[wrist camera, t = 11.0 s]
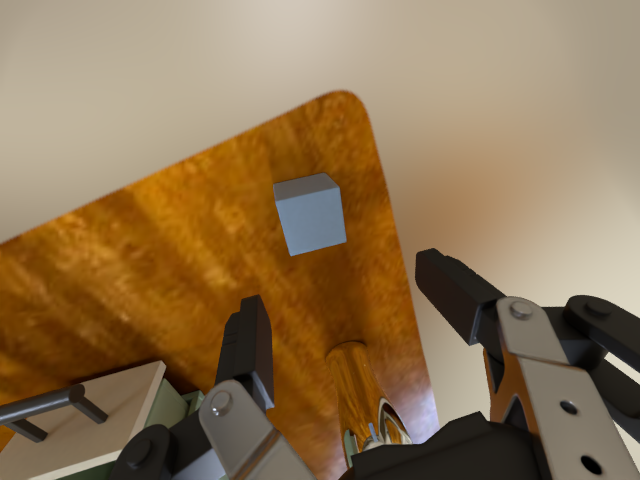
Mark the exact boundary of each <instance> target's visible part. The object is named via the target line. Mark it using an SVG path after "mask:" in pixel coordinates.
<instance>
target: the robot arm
mask: <svg viewBox="0 0 640 480" xmlns="http://www.w3.org/2000/svg"><path fill="white" fill-rule="evenodd" d="M415 280H416V284H417V286H418V288H419V289H420V291H421V292H422V293H423V294H424V295H425V296H426V297H427V299H428V300H429V301H430V302H431V303H432V304H433V305H434V307H435V308H436V309H437V310H438V311H439V312H440V313H441V314H442V316H443V317H444V318H445V319H446V320H447V321H448V322H449V324H450V325H451V326H452V327H453V328H454V329H455V330H456V332H457V333H458V334H459V335H460V336H461V337H462V338H463V340H464V341H465V342H466V343H467V344H468V345H469V346H470V345H474V344H477V343H480V344H482V346H483V347H484V349H483V356H484V362H485V369H486V375H487V381H488V387H489V392H490V400H491V407H490V421H487V420H486V419H485V417H484V416H483V415H482V413H481V412H480V411H478V412H475V413H472V414H470V415H466V416H464V417H461V418H458V419H455V420H452V421H449V422H448V423H447V424H446V425H445V426H443V427H442V428H441V429H440V430H439V431H437V432H436V433H435V434H434V435H433V436H432V437H430V438H429V439H428V440H427V441H426V442H424V443H422V444H383V445H380V446H377V447H374V448H371V449H369V450H366V451H363V452H360V453H357V454H354V455H351V456H350V457H351V461H352V465H353V466H352V467H351V468H349V469H348V470H347V471H346V472H345V473H344V474H343V475H342V476H341V477H340V478H339V479H338V480H640V473H639V471H638V469H637V467H636V465H635V463H634V461H633V459H632V457H631V455H630V453H629V451H628V449H627V447H626V445H625V444H624V442H623V440H622V438H621V436H620V434H619V432H618V430H617V428H616V426H615V424H614V422H613V420H614V421H615V422H616V423H617V424H618V425H619V426H620V427H621V428H623V429H624V430H625V431H626V432H627V433H628V434H629V435H630V436H632V437H633V438H634V439H635V440H636V441H637V442H638V443H639V444H640V385H639V384H638V383H637V382H635V381H634V380H633V379H631V378H630V377H629V376H627V375H626V374H624V373H623V372H622V371H620V370H619V369H618V368H616V367H615V366H614V365H612V364H611V363H610V362H608V361H607V360H605V359H604V357H605V356H606V355H607V353H608V352H610V353H612V354H613V355H615V356H616V357H618V358H619V359H620V360H622V361H623V362H625V363H626V364H628V365H629V366H630V367H632V368H633V369H635V370H636V371H637V372H639V373H640V318H638V317H636V316H635V315H633V314H631V313H629V312H628V311H626V310H624V309H622V308H620V307H619V306H617V305H615V304H613V303H611V302H609V301H606V300H604V299H601V298H598V297H593V296H587V295H577V296H573V297H571V298H569V300H568V302H567V304H566V306H565V307H540V306H538V305H537V304H535V303H534V302H532V301H529V300H527V299H524V298H520V297H514V296H508V297H507V296H506V295H504V294H503V293H502V292H501V291H499V290H498V289H496V288H495V287H494V286H493V285H491V284H490V283H489V282H487V281H486V280H485V279H483V278H482V277H481V276H479V275H478V274H476V273H475V272H474V271H473V270H472V269H469V268H468V266H466V265H465V264H464V263H462V262H461V261H459V260H457V259H455V258H452V257H450V256H444V255H443V254H441V253H440V252H439V251H438V250H436V249H435V248H431V249H428V250H424V251H420V252H418V253H417V254H416V269H415ZM271 407H274V387H273V358H272V330H271V324H270V320H269V317H268V314H267V312H266V309H265V307H264V304H263V302H262V299H261V297H260V295H259V294H258V295H254V296H251V297H247V298H243V299H242V300H241V307H240V312H237V313H233V314H232V315H231V316H230V318H229V320H228V321H227V323H226V325H225V330H224V337H223V341H222V347H221V353H220V358H219V364H218V369H217V375H216V380H215V385H214V387H213V388H212V389H211V390H210V391H209V392H208V393H207V395H206V396H205V397H204V399H203V401H202V403H201V405H200V408H198V409H197V410H196V411H195V412H193V413H192V414H190V415H189V416H187V417H186V418H184V419H183V420H181V421H179V422H178V423H176V424H175V425H173V426H172V427H170V428H169V429H168V428H167V427H166V426H164V425H162V424H154V425H151V426H148V427H146V428H144V429H143V430H141V431H140V432H138V433H137V434H136V435H135V436H134V437H133V438H132V439H131V440H130V441H129V442H128V443H127V444H126V446H125V447H124V448H123V450H122V451H121V453H120V454H119V456H118V458H117V460H116V462H115V465H114V467H113V469H112V472H111V474H110V477H109V479H108V480H218V479H220V478H221V477H222V476H223V475H225V474H227V476H228V479H229V480H317V478H316V477H315V476H314V475H313V473H312V472H311V471H310V469H309V468H308V467H307V466H306V464H305V463H304V462H303V460H302V459H301V458H300V457H299V455H298V454H297V453H296V451H295V450H294V449H293V448H292V446H291V445H290V444H289V442H288V441H287V440H286V439H285V437H284V436H283V435H282V434H281V433H280V431H279V430H277V429H276V428H275V427H274V426H273V425H272V423H271V422H270V421H269V419H268V418H267V417H266V409H268V408H271Z"/></svg>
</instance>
